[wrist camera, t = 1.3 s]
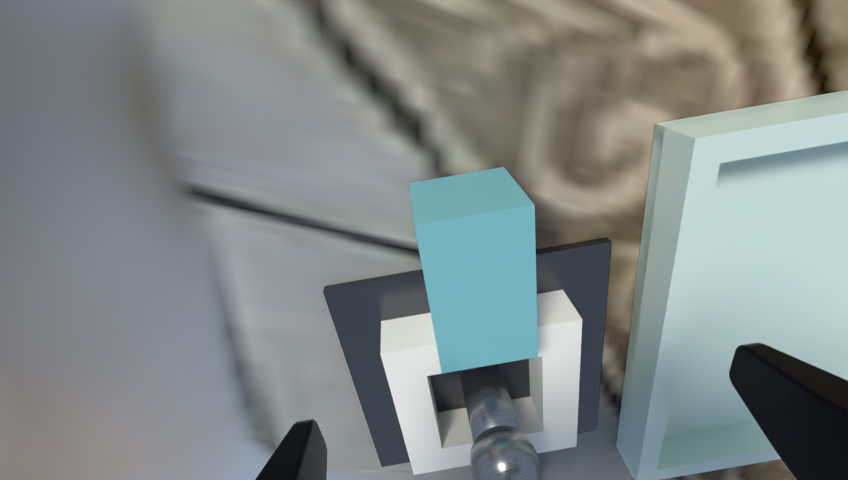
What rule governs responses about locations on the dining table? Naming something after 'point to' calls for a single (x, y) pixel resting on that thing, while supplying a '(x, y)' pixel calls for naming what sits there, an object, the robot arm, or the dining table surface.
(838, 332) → the tray
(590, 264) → the peg stand
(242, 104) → the dining table surface
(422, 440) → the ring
